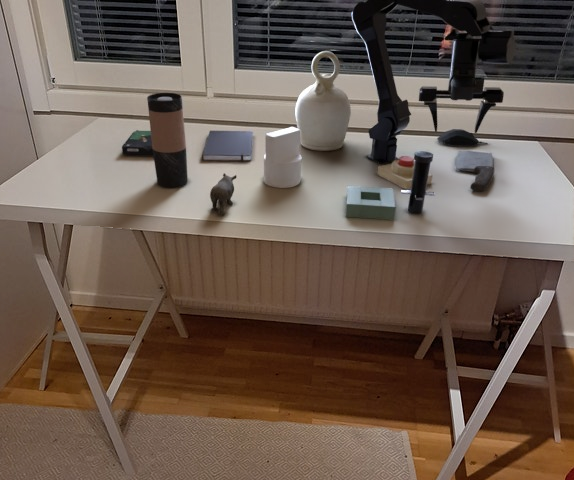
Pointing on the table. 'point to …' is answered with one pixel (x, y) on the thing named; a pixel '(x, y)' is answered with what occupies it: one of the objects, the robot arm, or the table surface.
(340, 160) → the table surface
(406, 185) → the panel
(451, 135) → the gaming mouse
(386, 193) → the green square frame
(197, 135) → the table surface
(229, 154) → the notebook
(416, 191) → the black flanged tube
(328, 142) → the white bell
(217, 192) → the rhino figurine
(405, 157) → the button
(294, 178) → the cylinder with rectangular tab
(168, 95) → the travel mug
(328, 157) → the table surface
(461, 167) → the cleaver
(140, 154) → the disk drive
